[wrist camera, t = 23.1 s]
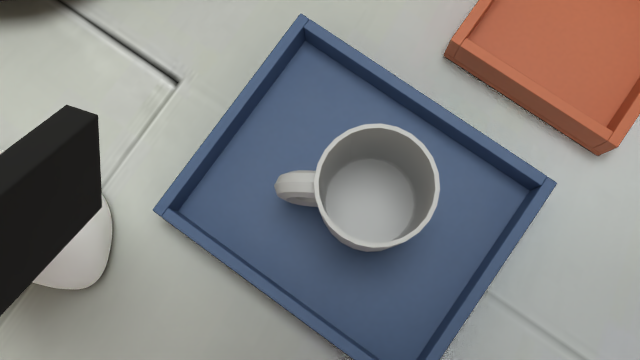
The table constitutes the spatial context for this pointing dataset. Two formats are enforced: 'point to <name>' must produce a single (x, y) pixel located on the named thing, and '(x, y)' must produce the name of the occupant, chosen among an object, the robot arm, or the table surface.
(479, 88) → the table surface
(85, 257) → the torso sculpture
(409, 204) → the cup
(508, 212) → the blue tray
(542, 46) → the terracotta tray
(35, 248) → the robot arm
